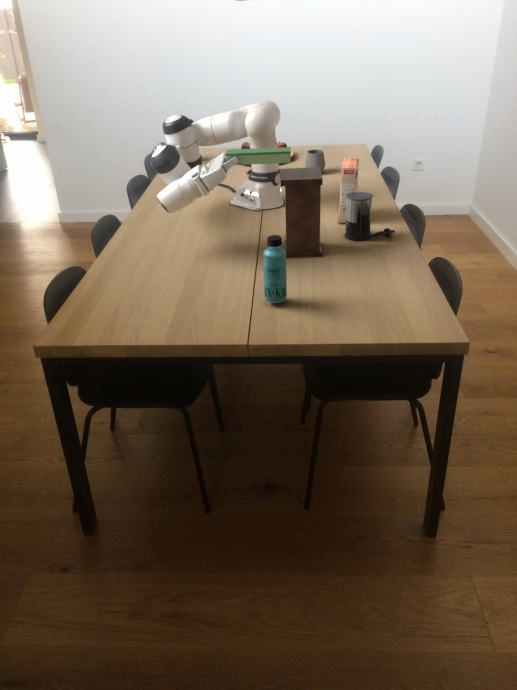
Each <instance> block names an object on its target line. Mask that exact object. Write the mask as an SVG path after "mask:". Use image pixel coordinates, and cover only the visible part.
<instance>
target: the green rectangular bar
mask: <svg viewBox="0 0 517 690" xmlns="http://www.w3.org/2000/svg"><path fill="white" fill-rule="evenodd" d="M291 151H292V150H291V146H287V147H282V148H257V149H241V148H236V149H235V148H234V149H232V148H231V149H226V151H225V153H226V162H228V161H229V160H231V158H233V157H234V156H237V158H238V159H239V160H238V163H236V164H234V165H233V166H249V164H275V163H281V164H291V163H292V159H291Z"/></svg>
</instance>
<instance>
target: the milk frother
mask: <svg viewBox="0 0 517 690" xmlns="http://www.w3.org/2000/svg"><path fill="white" fill-rule="evenodd" d="M346 197H347V205H346V223H345V229H344V230H345V231H344V232H345V233H344V238H346V239H348V240H352V241H365V240H368V239H370V238H371V237H377V236H385V237H388V236H390V235H392V234H395V233H396V230H395V229H390V228H389V227H387V228H384V230H381V231H377V232H374V233H373V234H372V233H371V219H372V203H373V197H374V194H373V193H371V192H369V191H361V190H360V191H358V190H357V192H350V193H348V194H346Z"/></svg>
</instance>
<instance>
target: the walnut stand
mask: <svg viewBox="0 0 517 690" xmlns="http://www.w3.org/2000/svg"><path fill="white" fill-rule="evenodd" d="M323 180H324V178H323V174H322V173H321V170H320V167H312V168H306V167H291V168H289V167H285V168H280V188H281V187H283V188H284V211H285V212H284V213H285V214H284V215H285V218H284V219H285V239H284V238H283V249H284V250H285V251H286V259H293V258H320V257H323V250H322V245H321V201H322V200H321V197H322V196H321V194H322V193H321V192H322V189H321V187H322V186H323V184H324V183H323Z"/></svg>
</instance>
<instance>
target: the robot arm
mask: <svg viewBox="0 0 517 690" xmlns="http://www.w3.org/2000/svg"><path fill="white" fill-rule="evenodd" d="M280 121H281V110H280V107H279V105H278V104H277V103H276V102H275V101H272V100H261V101H258V102H255V103H251V104H248V105H245V106H242V107H238V108H235V109H232V110H229V111H224V112H220V113H216V114H212V115H209V116H206V117H203V118H201V119H198V120H197V121H194V120H193V119H192V118H189V117H188V116H186V115H183V114H173V115H171V116H169V117H168V118H166V119H165V120H164V121H163V122H162V131H163V134H164V136H165V141H166V142H164V141H163V142H162V141H161V142H160V143H158V144H156V145H155V146H154V147H153V148H152V150H151V156H150V160H149V161H150V163H149V165H150V167H151V168H152V169H153V170H154V172H155V173H157V174H158V176H159V177H160V179H161V180H162V181H163V182H164V184H166V186H165V187H164V188H162V190H160V191H159V192H158V193H157V194H156V198H157V201H158V203H159V204H160V206H161V207H162V208H163V210H165V212H167V213H169V214H174V213H177V212H179V211H181V210H183V209H185V208H186V207H188V206H190V205H191V204H192V203H193V202H194V201H195V200H197V199H199V198H202V197H206V196H207V195H209V194H210V193H211V191H213V190H214V189H215V188H216V187H217V186H221V187H223V188H224V187H225V188H227V189H230V191H232V192H233V193H235V196H234V197H233V198H232V199H230V204H231V205H233V206H237V207H239V208H240V207H241V208H244V209H247V210H251V211H261V210H273V209H277V208H279V207H282V206H283V205H285V201H284V199H283V194H282V188H281V186H280V169H281V168H280V164H279V163H275V164H251V166H250V167H251V168H250V169H249V170H248V171H246V172H245V173H246V174H245V175H246V176H247V178H246V179H245V180H244V181H243V182H242V183H241V184H240V185H238V186H237V187H236V190H235V189H234V188H233V187H232V186H231V185H228V184H224V183H222V182H224V181H225V180H226V178H227V176H228V171H229V170H231V168H232V167H234V166H235V165H234V164H236V163H238V160H239V159H238V158H237V156H234V157H233V158H231V160H229V161H228V162H226V152H222V153H220V154H219V155H217V156H215V157H214V158H213V159H211V160H210V161H209V162H208V163H207V164H205V165H203V157H202V155H201V151H200V147H212V146H219V145H223V144H228V143H231V142H235V141H240V140H242V139H245V138H247V140H248V143H249V145H250V149H257V148H278V146H277V143H278V142H277V136H276V135H277V134H276V127H277V126H278V125H279V123H280Z"/></svg>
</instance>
